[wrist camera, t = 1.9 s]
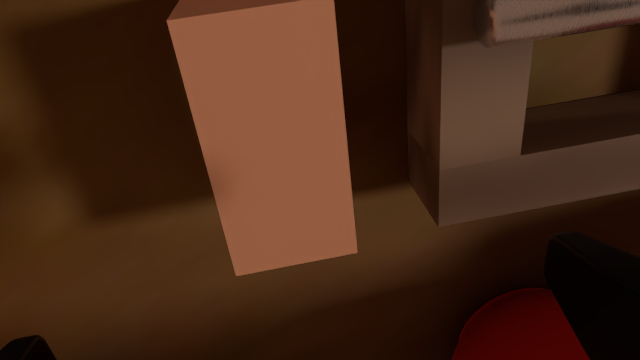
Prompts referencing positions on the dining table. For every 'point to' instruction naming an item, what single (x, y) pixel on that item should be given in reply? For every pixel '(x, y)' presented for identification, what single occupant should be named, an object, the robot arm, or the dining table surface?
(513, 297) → the red bowl
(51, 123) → the dining table surface
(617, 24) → the hook rod
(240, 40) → the orange arch block
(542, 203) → the grey flat frame
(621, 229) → the dining table surface
